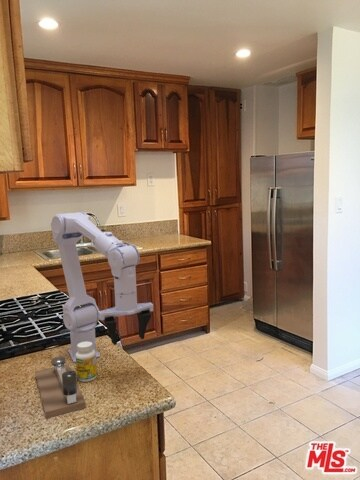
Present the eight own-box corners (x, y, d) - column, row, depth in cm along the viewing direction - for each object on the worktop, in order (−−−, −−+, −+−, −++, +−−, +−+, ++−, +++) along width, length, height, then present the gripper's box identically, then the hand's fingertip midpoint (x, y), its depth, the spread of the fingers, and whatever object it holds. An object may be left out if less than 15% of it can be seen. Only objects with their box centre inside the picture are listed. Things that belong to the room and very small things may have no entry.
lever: (51, 368, 109) (49, 346, 108) (64, 365, 110) (63, 343, 109) (64, 405, 91) (62, 378, 90) (79, 401, 92) (78, 375, 91)
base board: (35, 376, 108) (35, 371, 108) (68, 369, 112) (68, 364, 112) (45, 418, 89) (45, 412, 88) (85, 407, 92) (85, 401, 92)
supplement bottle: (100, 373, 109) (98, 340, 108) (92, 383, 104) (90, 348, 102) (81, 372, 110) (79, 339, 109) (73, 381, 105) (71, 347, 103)
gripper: (102, 299, 96) (105, 351, 98) (156, 291, 103) (158, 340, 105) (95, 292, 103) (98, 342, 105) (147, 285, 109) (149, 331, 111)
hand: (128, 340), depth 105 cm, fingers open, 7 cm apart
